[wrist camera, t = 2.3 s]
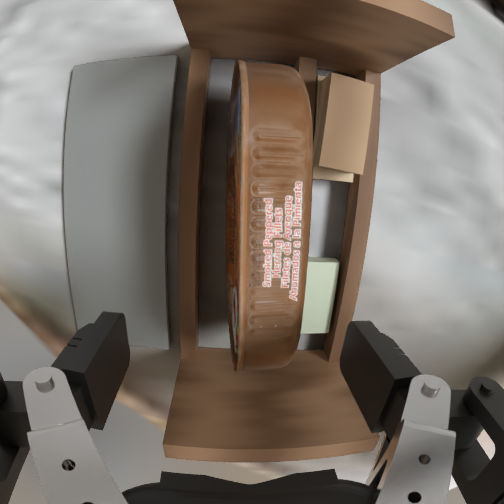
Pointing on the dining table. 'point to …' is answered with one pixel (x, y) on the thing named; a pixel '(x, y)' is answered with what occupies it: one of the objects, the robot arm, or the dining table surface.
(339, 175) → the offcut maple
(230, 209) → the tin
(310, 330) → the offcut sage
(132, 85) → the felt mat
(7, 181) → the dining table surface
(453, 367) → the dining table surface
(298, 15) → the rack
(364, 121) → the offcut oak
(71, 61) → the dining table surface
